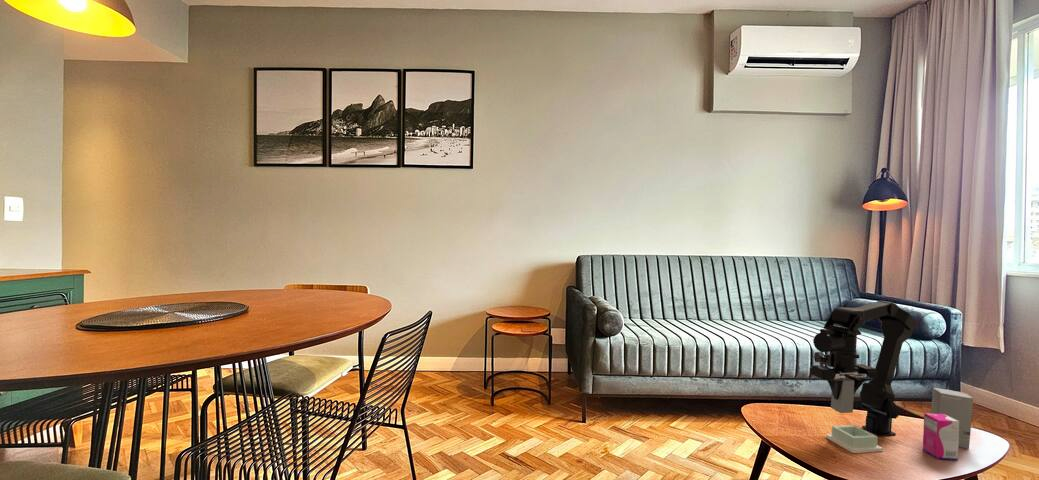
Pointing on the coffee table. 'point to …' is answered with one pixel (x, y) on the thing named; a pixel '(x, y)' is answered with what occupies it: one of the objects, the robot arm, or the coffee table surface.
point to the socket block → (854, 439)
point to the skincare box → (955, 411)
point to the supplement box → (941, 436)
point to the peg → (844, 397)
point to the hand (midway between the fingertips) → (842, 399)
